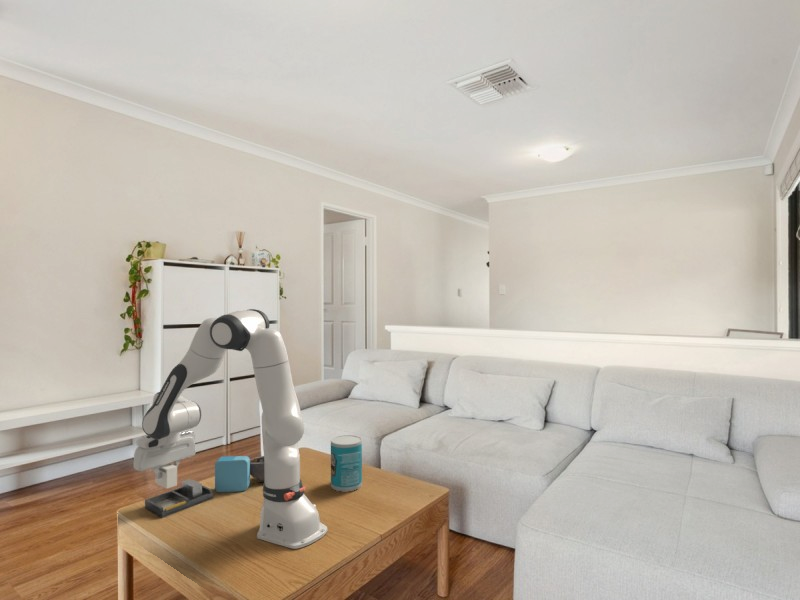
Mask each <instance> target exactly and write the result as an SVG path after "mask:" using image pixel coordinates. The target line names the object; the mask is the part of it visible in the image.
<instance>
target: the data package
mask: <svg viewBox="0 0 800 600" xmlns="http://www.w3.org/2000/svg"><path fill="white" fill-rule="evenodd" d="M250 460H251V459H250V457H249V456H247V455H238V456H237V455H236V456H235V455H232V456H220V457H219V458H218V459H217V460H216V461H215V464H214V490H215V491H216V493H231V492H234V493H235V492H245V491H247V490H248V489H249V487H250V484H251V474H250Z"/></svg>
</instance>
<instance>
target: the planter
mask: <svg viewBox="0 0 800 600" xmlns="http://www.w3.org/2000/svg"><path fill="white" fill-rule="evenodd" d="M250 477H252V478H254V479H256V480H257V482H263V483H264V482H265V481H264V455H262V456H257V457H254V458H251V459H250Z"/></svg>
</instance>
